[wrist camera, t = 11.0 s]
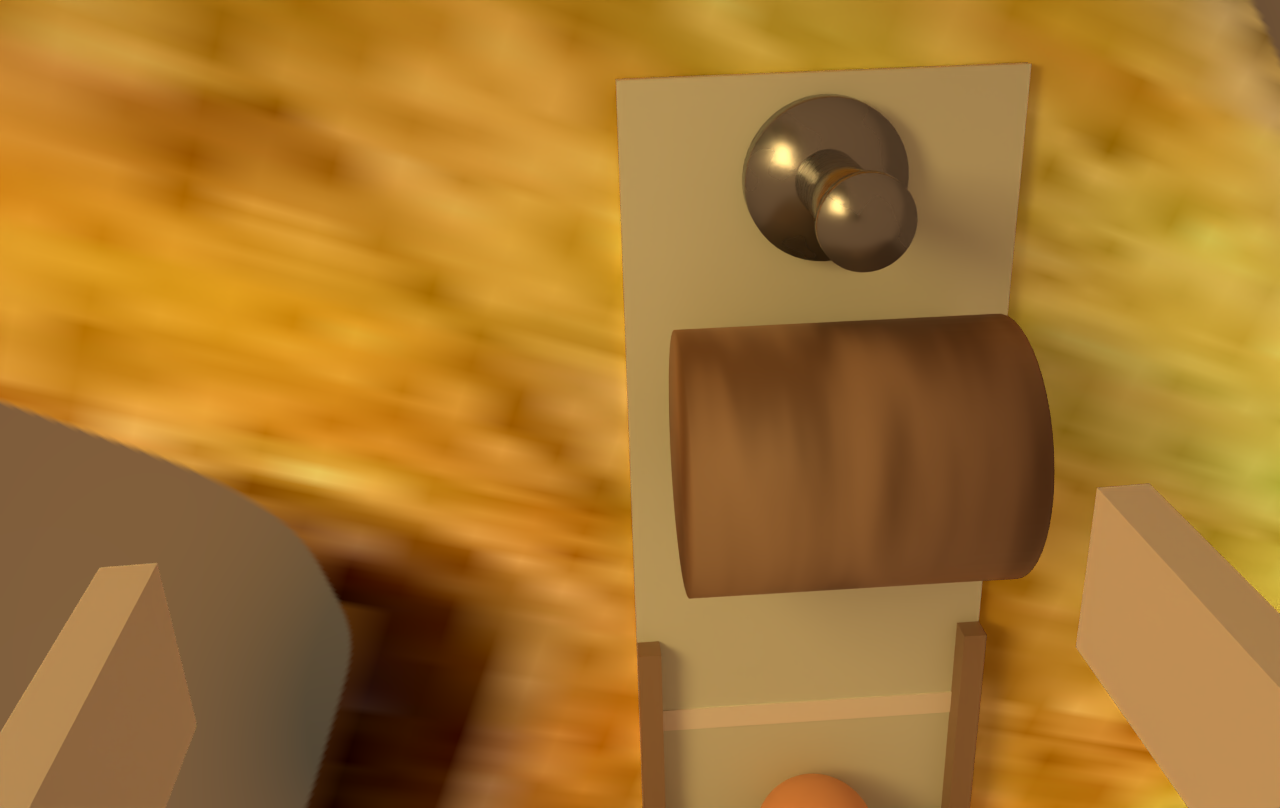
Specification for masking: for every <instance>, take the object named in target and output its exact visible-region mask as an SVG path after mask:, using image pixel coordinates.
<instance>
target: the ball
mask: <svg viewBox="0 0 1280 808" xmlns="http://www.w3.org/2000/svg"><path fill="white" fill-rule="evenodd" d="M761 808H868V807H867V805H866V803H865V802H864V800H863V799H862V798H861V797H860V796H859V794H858V793H857V792H856V791H855V790H853V789H852V788H851V787H850V786H849V785H847V784H846V783H844V782H842V781H840V780H838V779H836V778H834V777H831V776H828V775H823V774H802V775H798V776H795V777H792V778H790V779H787V780H785V781H784V782H782V783H781V784H779V785H778V786H777V787H775V788H774V789H773V790H772V791H771V792H770V793H769V795H768V796H767V797H766V799H765V800H764V802H763V804H762V806H761Z"/></svg>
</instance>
